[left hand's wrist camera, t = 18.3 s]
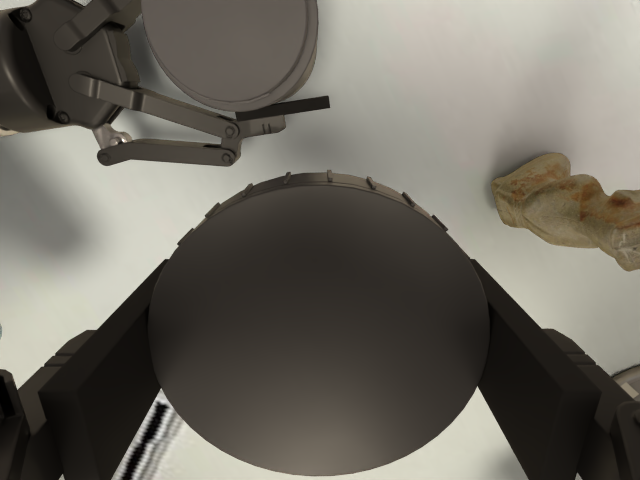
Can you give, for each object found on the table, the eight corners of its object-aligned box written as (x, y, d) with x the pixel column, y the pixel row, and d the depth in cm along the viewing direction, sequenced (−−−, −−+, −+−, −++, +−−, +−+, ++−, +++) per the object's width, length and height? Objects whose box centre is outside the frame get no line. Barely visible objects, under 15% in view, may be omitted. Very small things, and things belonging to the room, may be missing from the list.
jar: (189, 10, 31) (90, -52, 17) (291, -36, 30) (273, -143, 16) (237, 119, 34) (185, 139, 20) (331, 80, 33) (344, 73, 19)
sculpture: (565, 198, 37) (719, 265, 23) (490, 225, 38) (595, 306, 24) (555, 140, 35) (717, 174, 21) (476, 170, 36) (581, 222, 22)
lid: (424, 451, 14) (438, 495, 13) (161, 415, 14) (140, 457, 12) (514, 202, 11) (547, 219, 9) (173, 141, 10) (148, 148, 9)
